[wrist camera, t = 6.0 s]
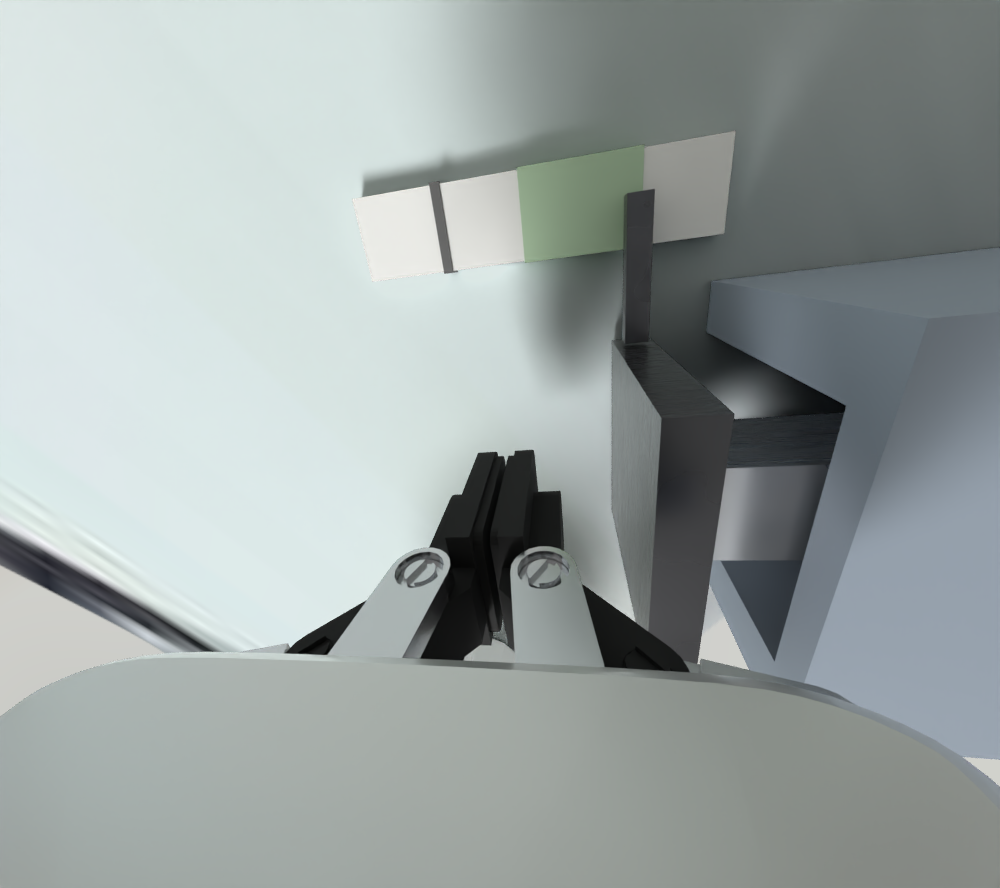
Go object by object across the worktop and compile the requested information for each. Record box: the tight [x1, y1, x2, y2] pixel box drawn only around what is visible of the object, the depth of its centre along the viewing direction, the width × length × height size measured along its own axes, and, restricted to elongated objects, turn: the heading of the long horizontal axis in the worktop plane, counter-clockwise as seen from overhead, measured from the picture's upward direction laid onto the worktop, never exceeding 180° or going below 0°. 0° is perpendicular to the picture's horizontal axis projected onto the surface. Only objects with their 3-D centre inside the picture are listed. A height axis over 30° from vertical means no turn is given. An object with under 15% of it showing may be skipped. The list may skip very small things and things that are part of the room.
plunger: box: [612, 189, 844, 664], centre depth 10 cm, size 10×11×7 cm
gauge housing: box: [352, 131, 1000, 760], centre depth 10 cm, size 21×14×8 cm, turn 97°
